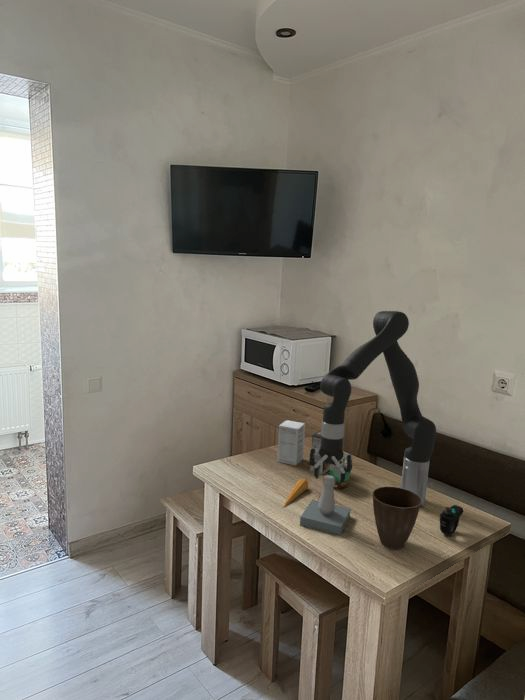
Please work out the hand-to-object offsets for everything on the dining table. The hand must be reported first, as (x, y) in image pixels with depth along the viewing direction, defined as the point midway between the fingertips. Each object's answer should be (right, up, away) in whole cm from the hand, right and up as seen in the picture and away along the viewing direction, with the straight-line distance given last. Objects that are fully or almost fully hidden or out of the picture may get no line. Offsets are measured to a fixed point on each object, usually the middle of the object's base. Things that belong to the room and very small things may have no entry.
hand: (329, 480), depth 172 cm
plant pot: (+19, -18, -9) cm, 28 cm away
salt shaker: (-1, -12, +2) cm, 12 cm away
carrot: (-11, -12, +19) cm, 25 cm away
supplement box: (-10, -5, +54) cm, 55 cm away
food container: (+9, -11, +31) cm, 34 cm away
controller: (+40, -18, -1) cm, 44 cm away
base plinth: (-1, -15, +3) cm, 15 cm away
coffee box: (+2, -7, +46) cm, 47 cm away
